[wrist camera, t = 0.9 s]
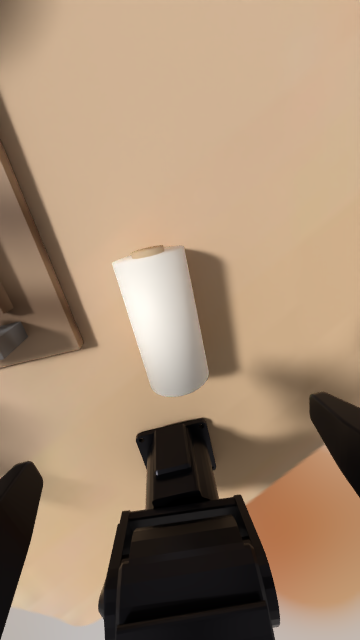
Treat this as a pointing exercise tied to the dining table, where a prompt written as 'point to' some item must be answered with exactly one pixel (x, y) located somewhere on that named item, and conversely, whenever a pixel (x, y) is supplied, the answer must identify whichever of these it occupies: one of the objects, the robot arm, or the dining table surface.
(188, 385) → the roll
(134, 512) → the robot arm
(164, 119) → the dining table surface
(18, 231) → the cradle
